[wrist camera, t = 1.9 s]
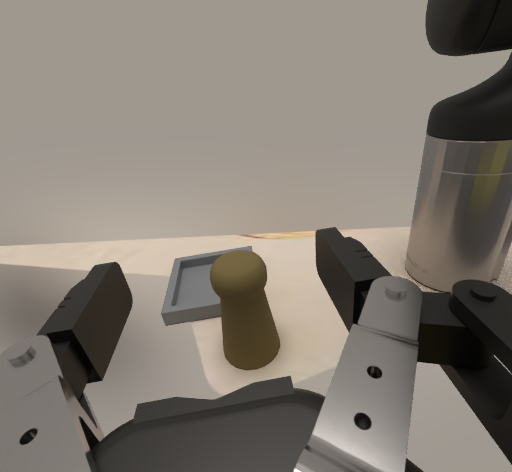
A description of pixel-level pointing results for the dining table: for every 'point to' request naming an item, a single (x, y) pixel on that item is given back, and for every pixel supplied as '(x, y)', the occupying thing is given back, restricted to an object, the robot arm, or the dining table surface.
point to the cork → (244, 309)
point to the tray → (192, 289)
